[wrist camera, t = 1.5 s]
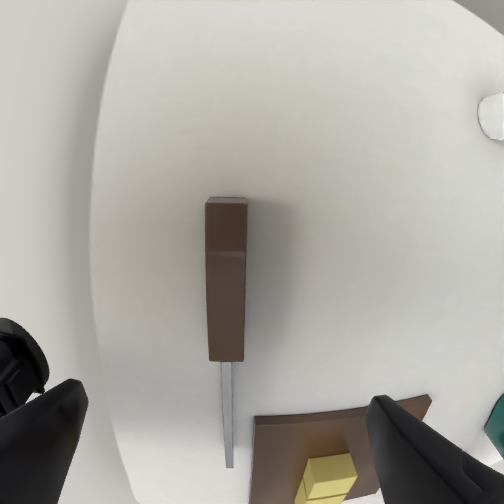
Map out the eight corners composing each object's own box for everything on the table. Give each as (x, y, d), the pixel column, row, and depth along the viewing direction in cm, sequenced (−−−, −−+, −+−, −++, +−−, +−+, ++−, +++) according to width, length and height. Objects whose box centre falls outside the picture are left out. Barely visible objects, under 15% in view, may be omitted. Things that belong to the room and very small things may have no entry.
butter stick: (294, 500, 25) (297, 521, 22) (302, 478, 23) (306, 501, 21) (328, 496, 25) (332, 515, 22) (340, 472, 24) (346, 495, 21)
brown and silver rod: (218, 447, 22) (217, 468, 20) (209, 196, 16) (204, 202, 14) (241, 447, 23) (241, 468, 20) (246, 197, 16) (247, 203, 14)
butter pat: (302, 475, 23) (307, 499, 20) (308, 458, 22) (314, 483, 19) (341, 470, 23) (348, 492, 21) (349, 452, 22) (358, 476, 20)
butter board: (249, 504, 27) (249, 510, 26) (254, 416, 21) (255, 425, 20) (373, 487, 27) (375, 493, 26) (427, 394, 22) (432, 400, 21)
